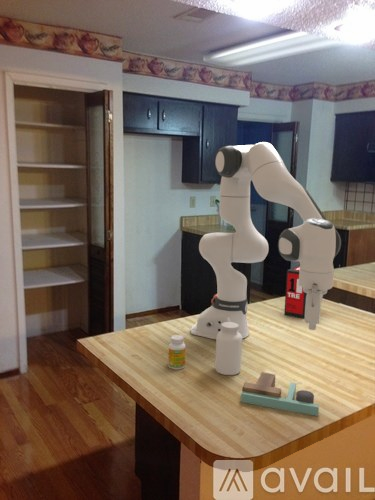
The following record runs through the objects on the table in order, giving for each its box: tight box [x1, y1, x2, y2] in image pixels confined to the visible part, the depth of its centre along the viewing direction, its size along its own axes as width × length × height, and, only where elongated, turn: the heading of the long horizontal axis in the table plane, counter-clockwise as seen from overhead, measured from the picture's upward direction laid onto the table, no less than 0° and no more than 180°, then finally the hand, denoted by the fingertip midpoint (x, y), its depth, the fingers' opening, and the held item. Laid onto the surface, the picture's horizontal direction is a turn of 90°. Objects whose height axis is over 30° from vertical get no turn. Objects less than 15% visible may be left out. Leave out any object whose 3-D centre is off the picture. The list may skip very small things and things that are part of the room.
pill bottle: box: [214, 322, 243, 376], centre depth 136 cm, size 8×8×15 cm
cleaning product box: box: [283, 263, 307, 320], centre depth 196 cm, size 16×9×20 cm, turn 147°
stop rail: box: [240, 382, 320, 417], centre depth 120 cm, size 20×12×2 cm, turn 71°
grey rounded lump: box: [295, 389, 315, 404], centre depth 116 cm, size 4×4×4 cm
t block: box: [241, 371, 282, 398], centre depth 123 cm, size 10×11×4 cm
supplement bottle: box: [167, 334, 187, 370], centre depth 139 cm, size 5×5×10 cm
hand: (312, 328), depth 121 cm, fingers closed
